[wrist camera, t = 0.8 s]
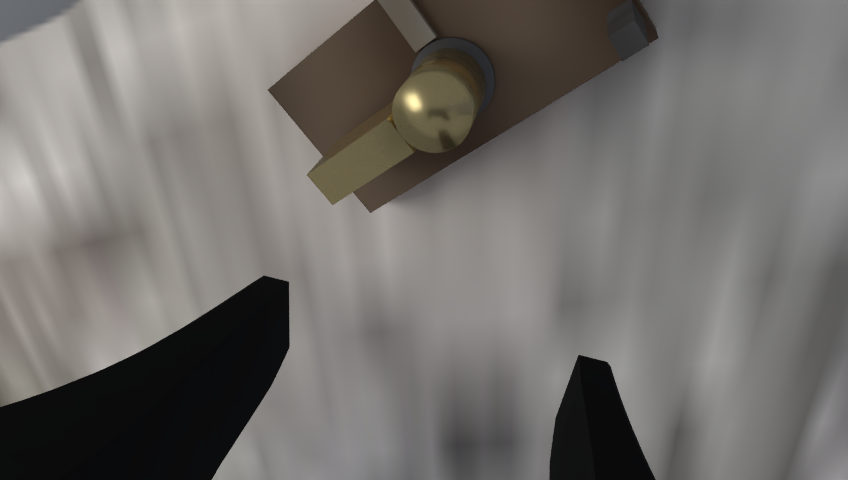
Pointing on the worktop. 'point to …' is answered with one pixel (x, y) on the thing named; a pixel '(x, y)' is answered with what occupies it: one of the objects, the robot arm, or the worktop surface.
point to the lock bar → (407, 123)
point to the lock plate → (467, 31)
